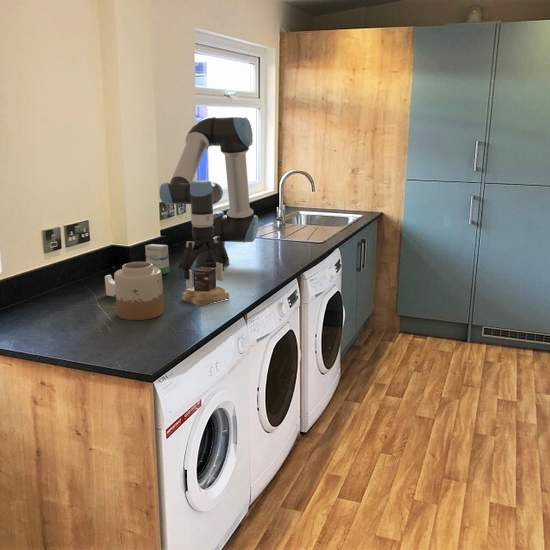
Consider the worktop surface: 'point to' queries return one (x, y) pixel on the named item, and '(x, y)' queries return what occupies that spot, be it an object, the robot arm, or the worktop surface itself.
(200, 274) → the box
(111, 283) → the bracket
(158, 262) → the ink box
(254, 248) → the worktop surface
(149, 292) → the vase
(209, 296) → the plinth
